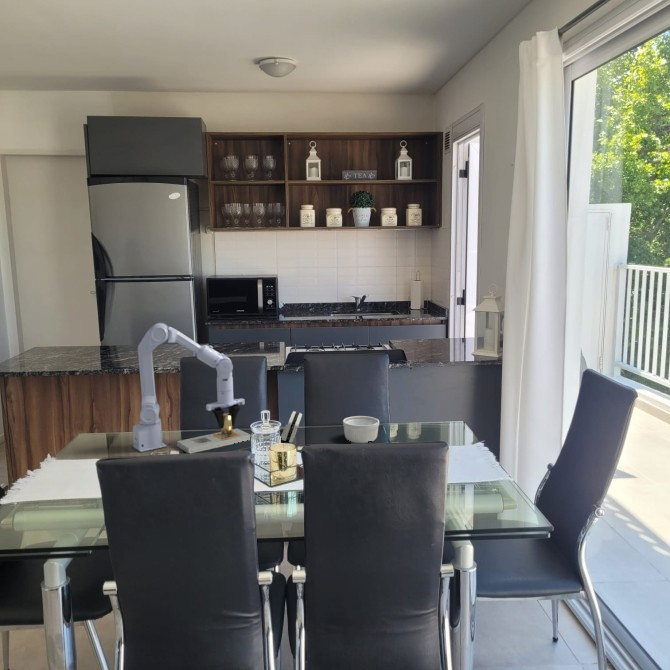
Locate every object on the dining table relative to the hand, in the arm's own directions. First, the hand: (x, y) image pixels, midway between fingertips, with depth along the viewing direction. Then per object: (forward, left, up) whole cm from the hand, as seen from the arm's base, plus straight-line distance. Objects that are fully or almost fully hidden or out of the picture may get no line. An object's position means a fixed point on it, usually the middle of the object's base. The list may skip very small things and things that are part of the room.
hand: (226, 426), depth 212 cm
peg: (0, 0, -3) cm, 3 cm away
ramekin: (+39, -30, -6) cm, 50 cm away
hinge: (+21, -10, -6) cm, 24 cm away
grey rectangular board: (-5, 0, -5) cm, 7 cm away
